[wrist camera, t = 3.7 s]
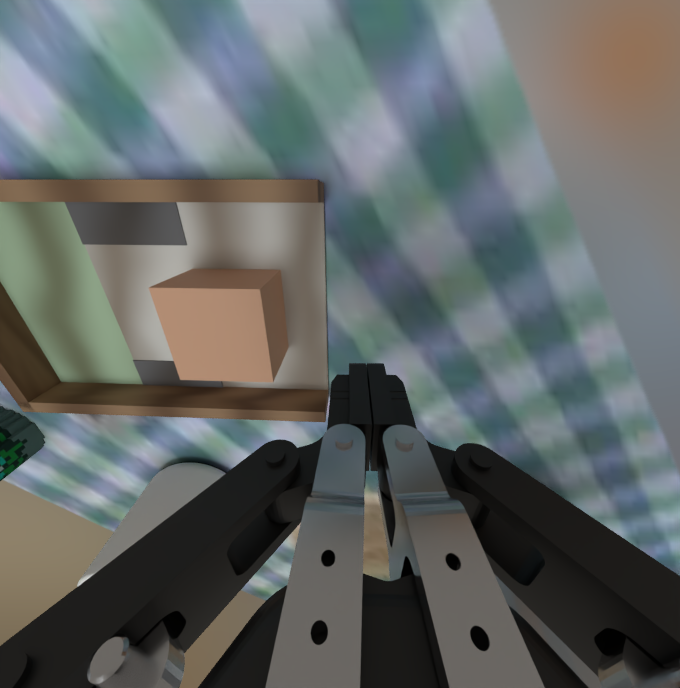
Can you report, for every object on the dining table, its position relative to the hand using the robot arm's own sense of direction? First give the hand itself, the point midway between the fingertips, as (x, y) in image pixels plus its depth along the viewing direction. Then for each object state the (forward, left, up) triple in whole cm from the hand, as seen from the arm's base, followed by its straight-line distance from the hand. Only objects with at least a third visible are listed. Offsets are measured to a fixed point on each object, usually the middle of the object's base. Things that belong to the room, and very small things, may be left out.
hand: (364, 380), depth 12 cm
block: (+8, 0, -8) cm, 12 cm away
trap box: (+14, 0, -9) cm, 17 cm away
